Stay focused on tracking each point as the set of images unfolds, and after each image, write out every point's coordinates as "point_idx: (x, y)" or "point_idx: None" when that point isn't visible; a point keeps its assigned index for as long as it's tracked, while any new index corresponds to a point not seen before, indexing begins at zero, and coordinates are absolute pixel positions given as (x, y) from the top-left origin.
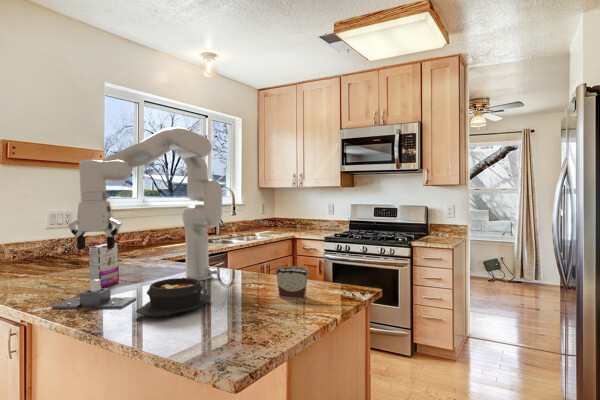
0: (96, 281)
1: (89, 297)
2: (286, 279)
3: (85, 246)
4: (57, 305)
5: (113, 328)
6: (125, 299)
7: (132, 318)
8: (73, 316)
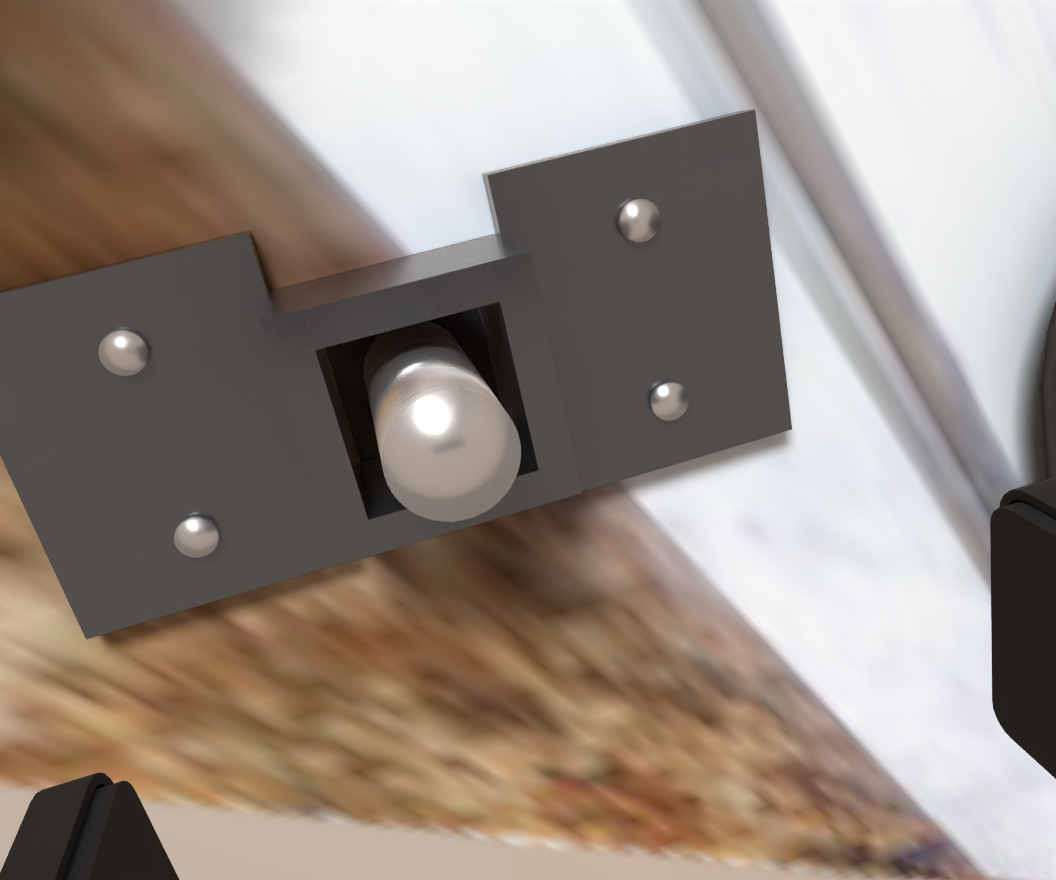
0: (506, 486)
1: None
2: None
3: (107, 810)
4: (115, 601)
5: (968, 771)
6: (688, 218)
7: None
8: (516, 704)
